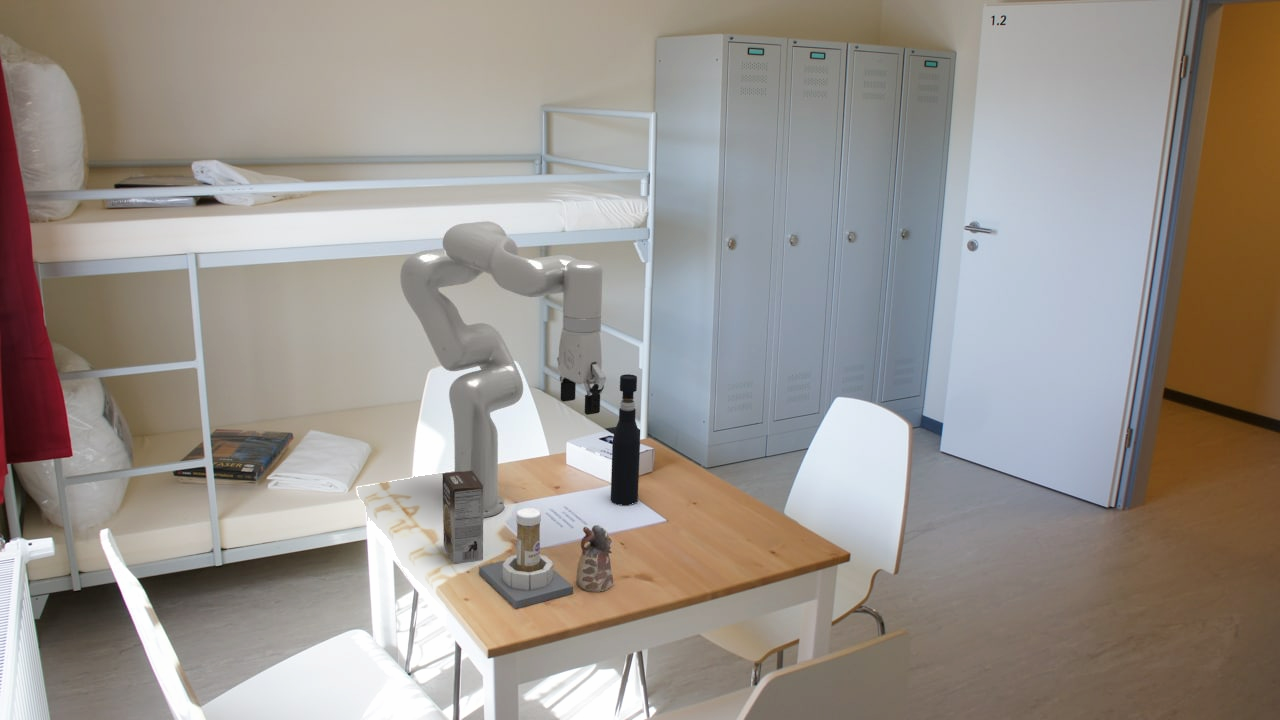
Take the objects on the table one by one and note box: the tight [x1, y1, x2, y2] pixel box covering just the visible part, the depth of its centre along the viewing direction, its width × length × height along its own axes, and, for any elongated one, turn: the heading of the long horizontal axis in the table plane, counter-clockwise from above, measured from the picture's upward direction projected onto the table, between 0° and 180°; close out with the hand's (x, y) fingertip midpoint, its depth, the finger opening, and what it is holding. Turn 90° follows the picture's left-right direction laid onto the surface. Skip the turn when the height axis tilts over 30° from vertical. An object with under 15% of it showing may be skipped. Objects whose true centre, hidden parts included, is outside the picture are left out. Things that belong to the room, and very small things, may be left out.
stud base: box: [478, 554, 574, 609], centre depth 192 cm, size 16×12×4 cm
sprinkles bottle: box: [515, 507, 542, 572], centre depth 190 cm, size 5×5×13 cm
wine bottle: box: [610, 374, 641, 506], centre depth 231 cm, size 6×6×30 cm
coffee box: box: [441, 471, 484, 565], centre depth 202 cm, size 9×6×16 cm
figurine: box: [576, 524, 614, 593], centre depth 192 cm, size 7×7×12 cm
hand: (579, 406), depth 202 cm, fingers open, 9 cm apart
